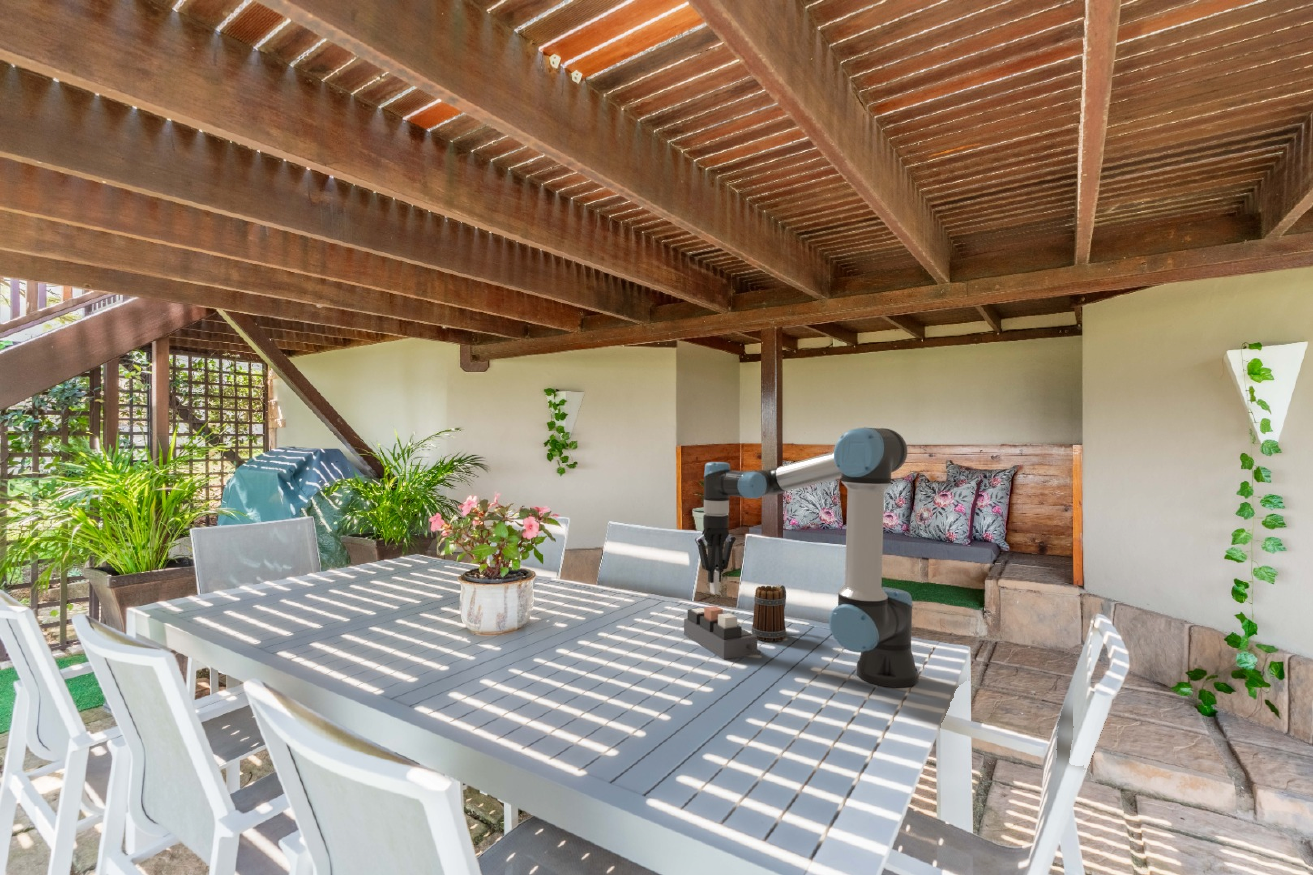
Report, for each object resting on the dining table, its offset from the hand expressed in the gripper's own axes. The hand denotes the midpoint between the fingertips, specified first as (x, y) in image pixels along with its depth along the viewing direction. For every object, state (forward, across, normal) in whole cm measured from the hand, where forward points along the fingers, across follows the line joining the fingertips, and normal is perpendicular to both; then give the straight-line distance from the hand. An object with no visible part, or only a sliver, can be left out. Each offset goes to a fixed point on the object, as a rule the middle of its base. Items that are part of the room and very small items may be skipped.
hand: (714, 592), depth 195 cm
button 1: (+7, 0, +8) cm, 11 cm away
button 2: (+8, 0, 0) cm, 8 cm away
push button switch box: (+15, -2, +3) cm, 16 cm away
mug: (+16, -22, -1) cm, 27 cm away
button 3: (+10, 0, -8) cm, 13 cm away
